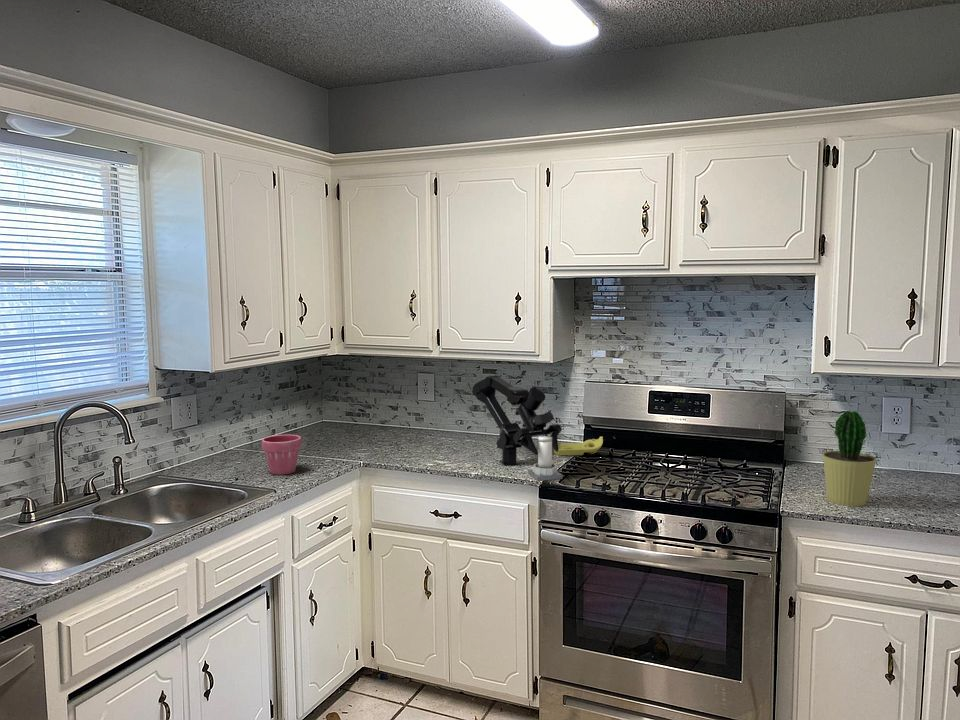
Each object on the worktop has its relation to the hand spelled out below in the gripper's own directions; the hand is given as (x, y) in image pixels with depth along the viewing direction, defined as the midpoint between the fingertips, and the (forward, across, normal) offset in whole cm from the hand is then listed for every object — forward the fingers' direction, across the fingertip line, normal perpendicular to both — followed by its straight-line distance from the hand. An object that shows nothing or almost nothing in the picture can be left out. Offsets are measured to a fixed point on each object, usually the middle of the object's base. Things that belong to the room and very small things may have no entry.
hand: (547, 452), depth 260 cm
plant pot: (-35, -79, +48) cm, 99 cm away
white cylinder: (+4, 0, +6) cm, 8 cm away
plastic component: (-9, +33, +22) cm, 41 cm away
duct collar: (+5, 0, +7) cm, 9 cm away
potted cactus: (+59, +64, -46) cm, 99 cm away
